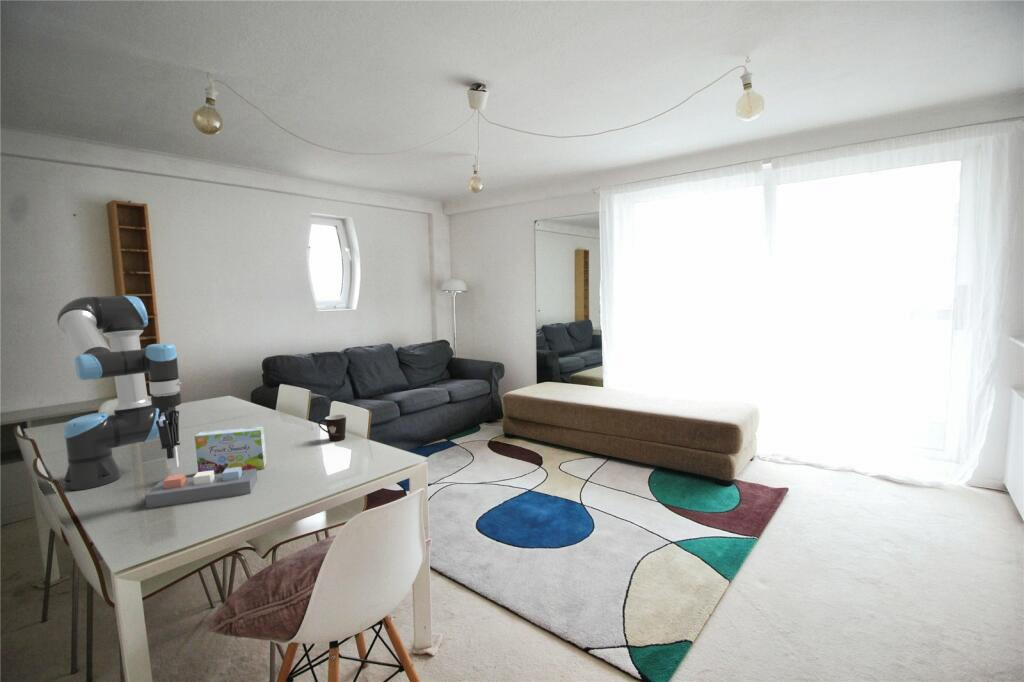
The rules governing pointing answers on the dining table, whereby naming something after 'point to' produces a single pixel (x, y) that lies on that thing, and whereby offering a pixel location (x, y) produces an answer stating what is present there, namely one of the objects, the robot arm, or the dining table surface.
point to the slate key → (232, 474)
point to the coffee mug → (335, 427)
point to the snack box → (231, 449)
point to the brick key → (174, 481)
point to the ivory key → (204, 477)
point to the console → (201, 490)
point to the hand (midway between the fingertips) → (173, 467)
